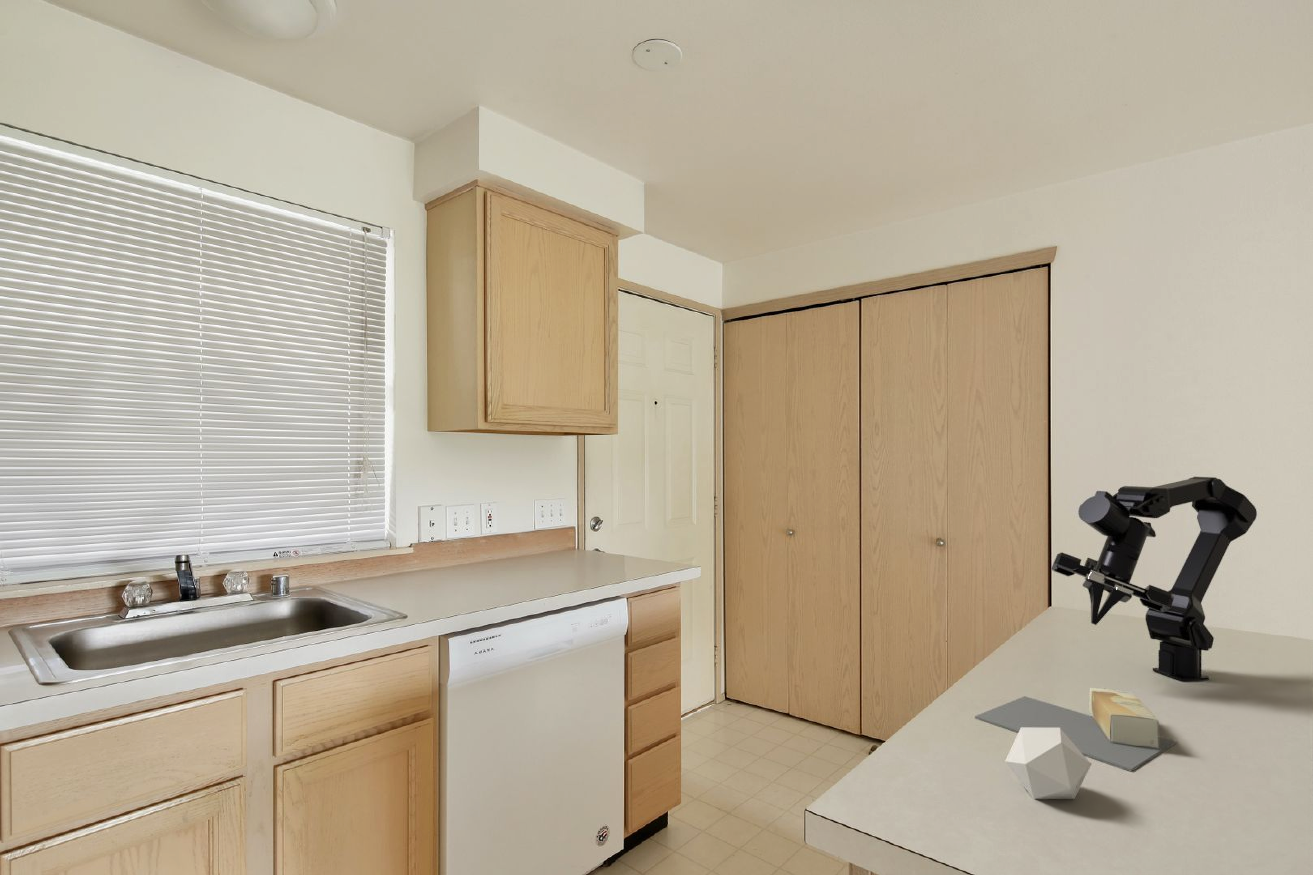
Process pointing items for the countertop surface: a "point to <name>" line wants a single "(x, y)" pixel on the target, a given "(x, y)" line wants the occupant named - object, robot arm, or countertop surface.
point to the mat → (1072, 731)
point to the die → (1047, 763)
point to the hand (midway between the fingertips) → (1093, 623)
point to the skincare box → (1124, 718)
